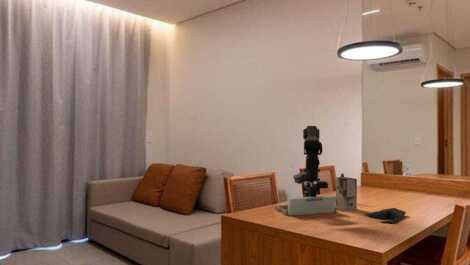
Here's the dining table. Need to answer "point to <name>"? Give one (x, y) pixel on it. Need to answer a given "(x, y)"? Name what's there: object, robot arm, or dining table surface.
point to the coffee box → (346, 193)
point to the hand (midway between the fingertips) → (311, 200)
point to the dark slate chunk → (387, 215)
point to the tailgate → (311, 205)
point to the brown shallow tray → (285, 209)
